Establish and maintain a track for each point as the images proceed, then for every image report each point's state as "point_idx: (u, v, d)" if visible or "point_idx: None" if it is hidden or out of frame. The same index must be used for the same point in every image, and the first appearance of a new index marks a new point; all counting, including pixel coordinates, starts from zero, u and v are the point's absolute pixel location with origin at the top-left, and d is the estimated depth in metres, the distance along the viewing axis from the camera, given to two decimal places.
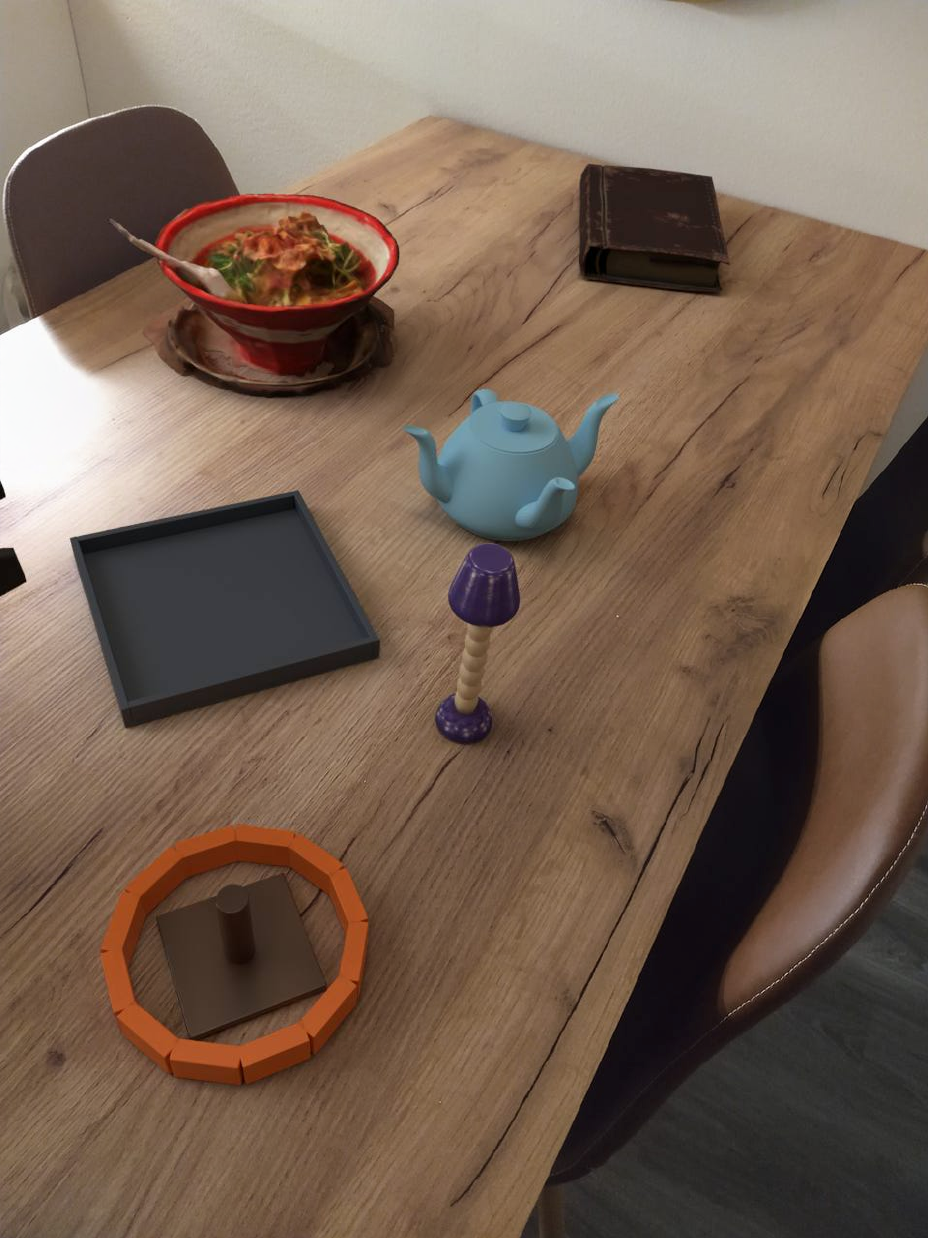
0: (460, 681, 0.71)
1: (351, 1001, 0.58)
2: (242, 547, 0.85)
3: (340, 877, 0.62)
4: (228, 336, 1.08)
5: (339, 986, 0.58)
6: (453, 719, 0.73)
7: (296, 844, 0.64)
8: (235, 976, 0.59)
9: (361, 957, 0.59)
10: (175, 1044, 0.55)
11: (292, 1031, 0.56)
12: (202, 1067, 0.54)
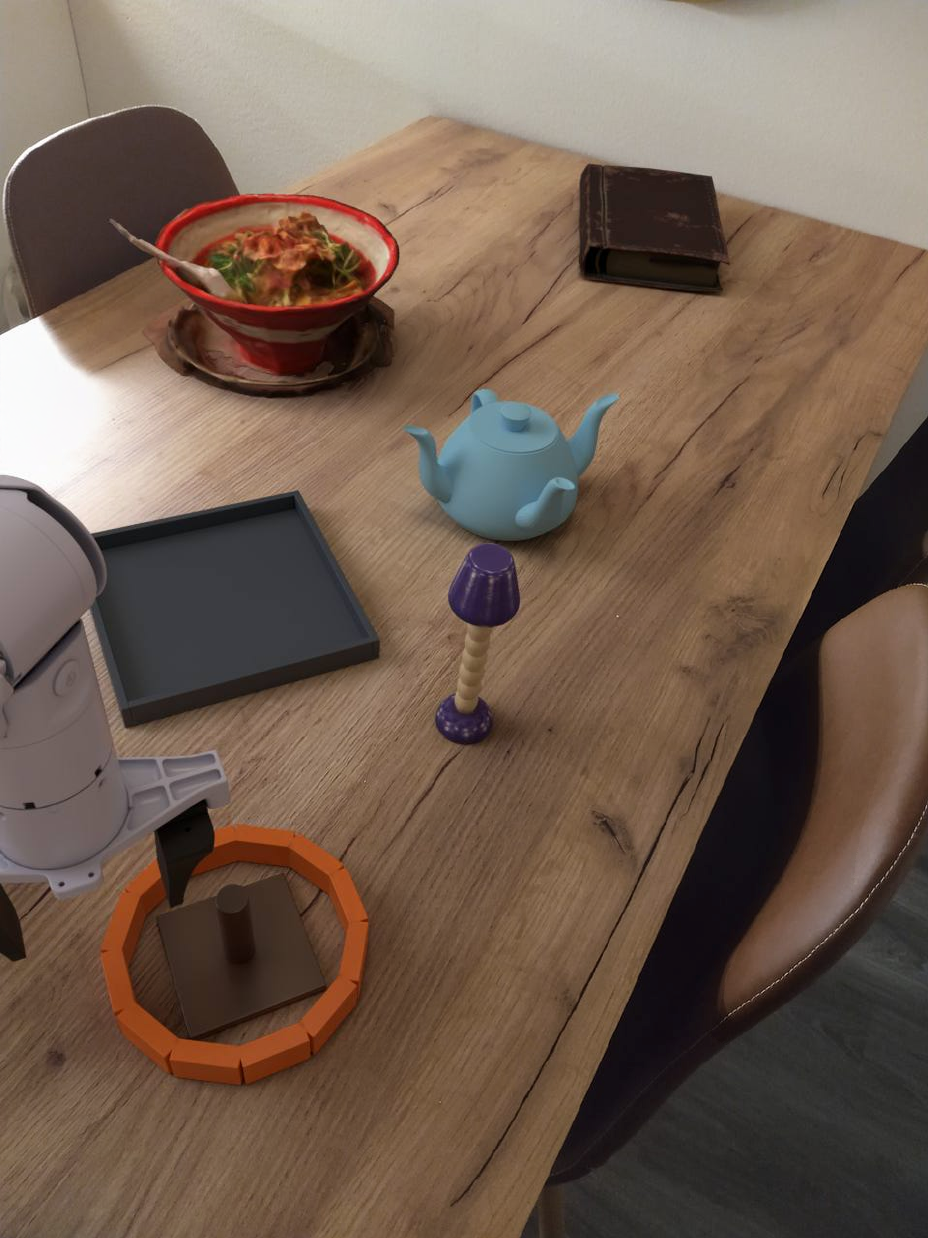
0: (460, 681, 0.71)
1: (351, 1001, 0.58)
2: (242, 547, 0.85)
3: (340, 877, 0.62)
4: (228, 336, 1.08)
5: (339, 986, 0.58)
6: (453, 719, 0.73)
7: (296, 844, 0.64)
8: (235, 976, 0.59)
9: (361, 957, 0.59)
10: (175, 1044, 0.55)
11: (292, 1031, 0.56)
12: (202, 1067, 0.54)
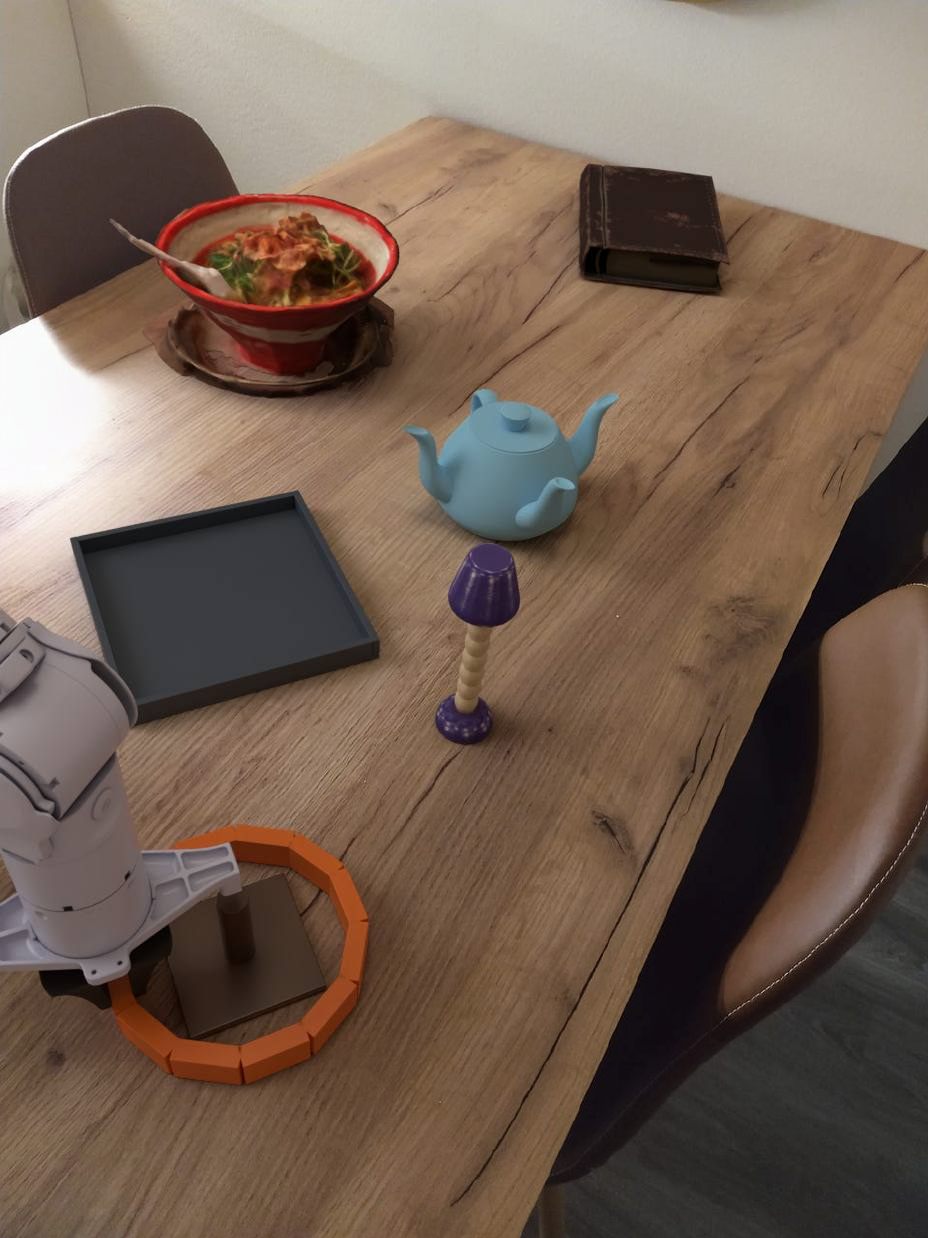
0: (460, 681, 0.71)
1: (351, 1001, 0.58)
2: (242, 547, 0.85)
3: (340, 877, 0.62)
4: (228, 336, 1.08)
5: (339, 986, 0.58)
6: (453, 719, 0.73)
7: (297, 844, 0.64)
8: (235, 976, 0.59)
9: (361, 957, 0.59)
10: (175, 1044, 0.55)
11: (292, 1031, 0.56)
12: (202, 1067, 0.54)
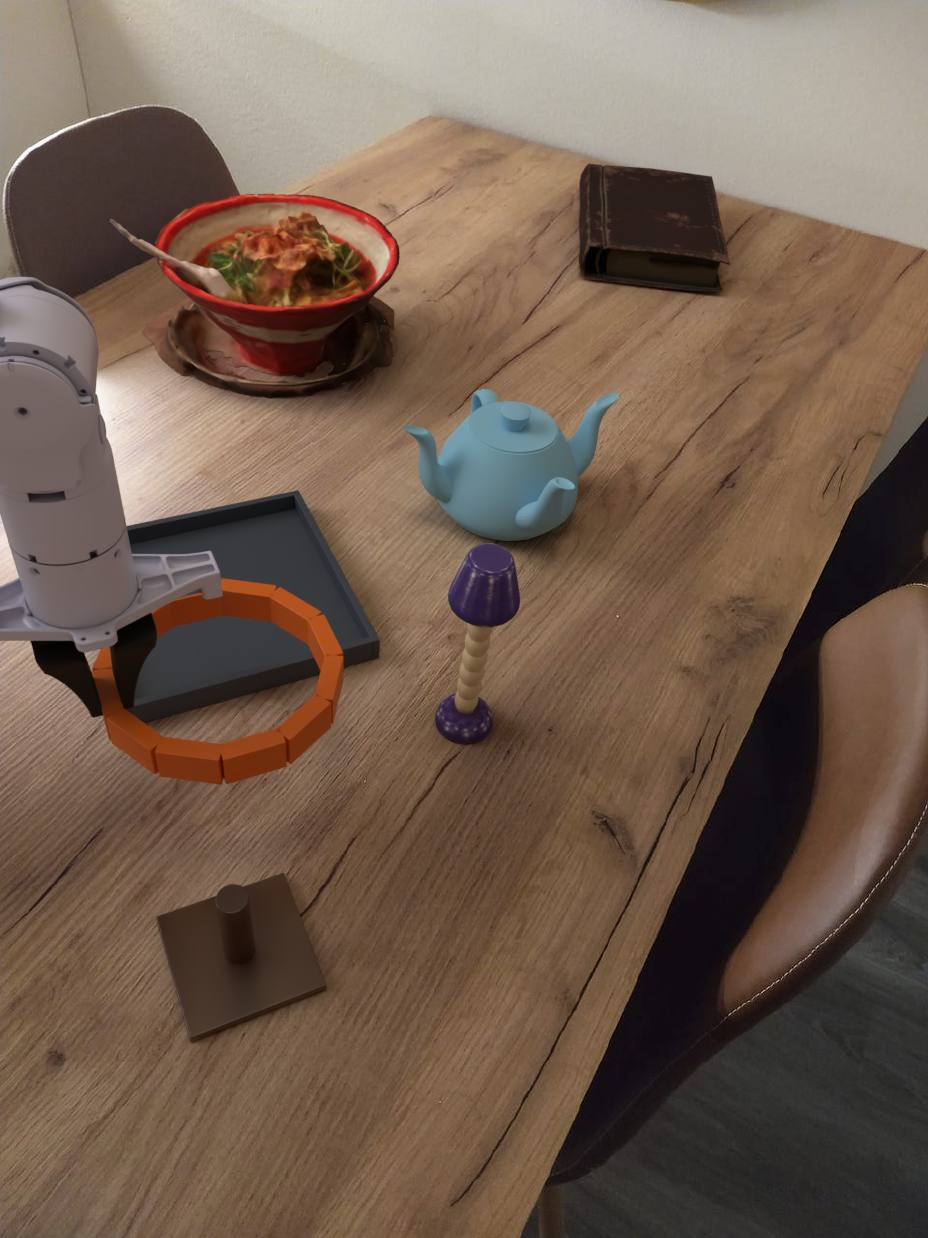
0: (460, 681, 0.71)
1: (326, 720, 0.62)
2: (242, 547, 0.85)
3: (318, 621, 0.67)
4: (228, 336, 1.08)
5: (314, 702, 0.62)
6: (453, 719, 0.73)
7: (277, 595, 0.68)
8: (235, 976, 0.59)
9: (335, 682, 0.63)
10: (160, 740, 0.59)
11: (269, 734, 0.60)
12: (185, 761, 0.58)
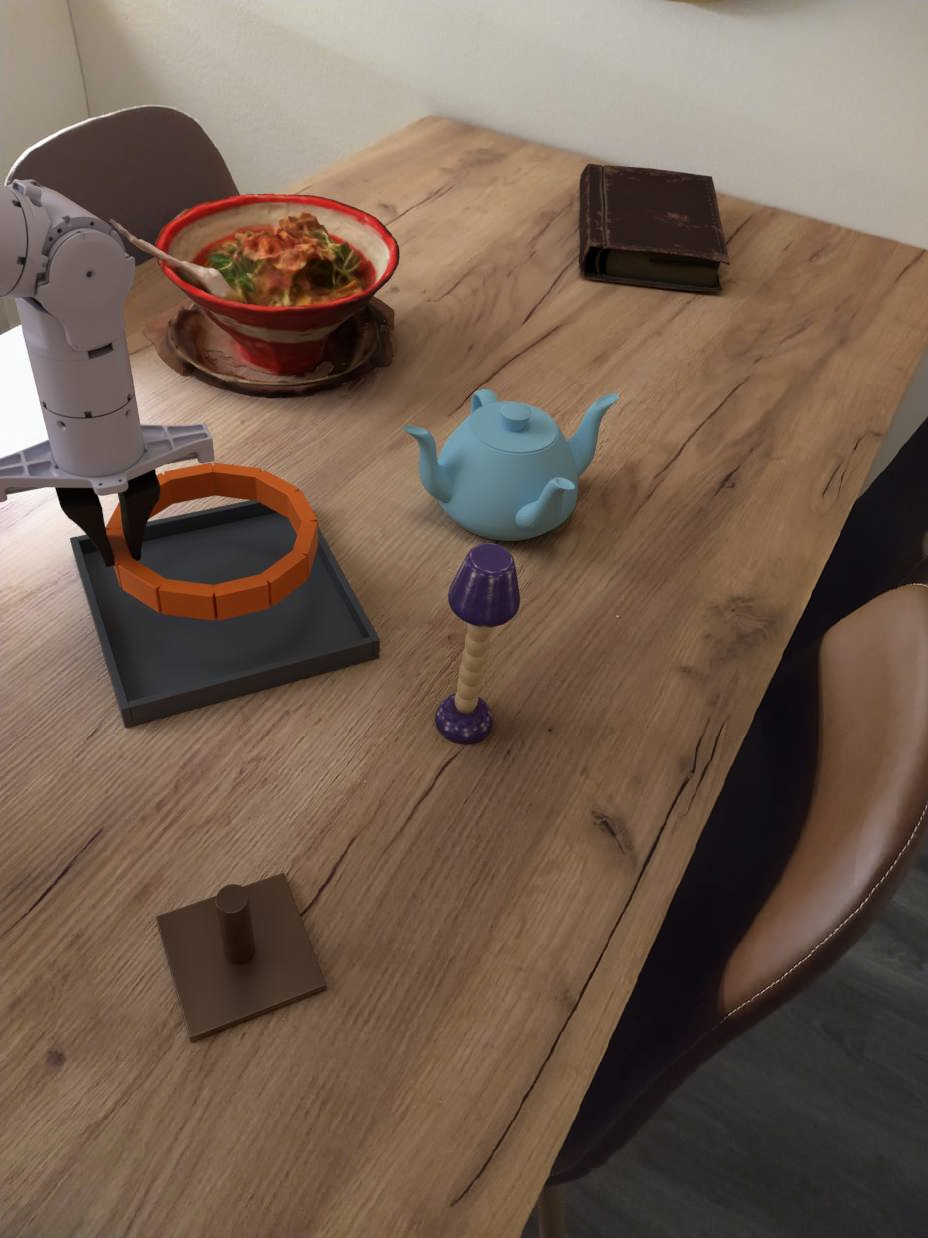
0: (460, 681, 0.71)
1: (302, 571, 0.74)
2: (242, 547, 0.85)
3: (296, 495, 0.78)
4: (228, 336, 1.08)
5: (292, 555, 0.73)
6: (453, 719, 0.73)
7: (262, 475, 0.80)
8: (235, 976, 0.59)
9: (310, 540, 0.75)
10: (163, 581, 0.70)
11: (254, 578, 0.71)
12: (184, 598, 0.70)
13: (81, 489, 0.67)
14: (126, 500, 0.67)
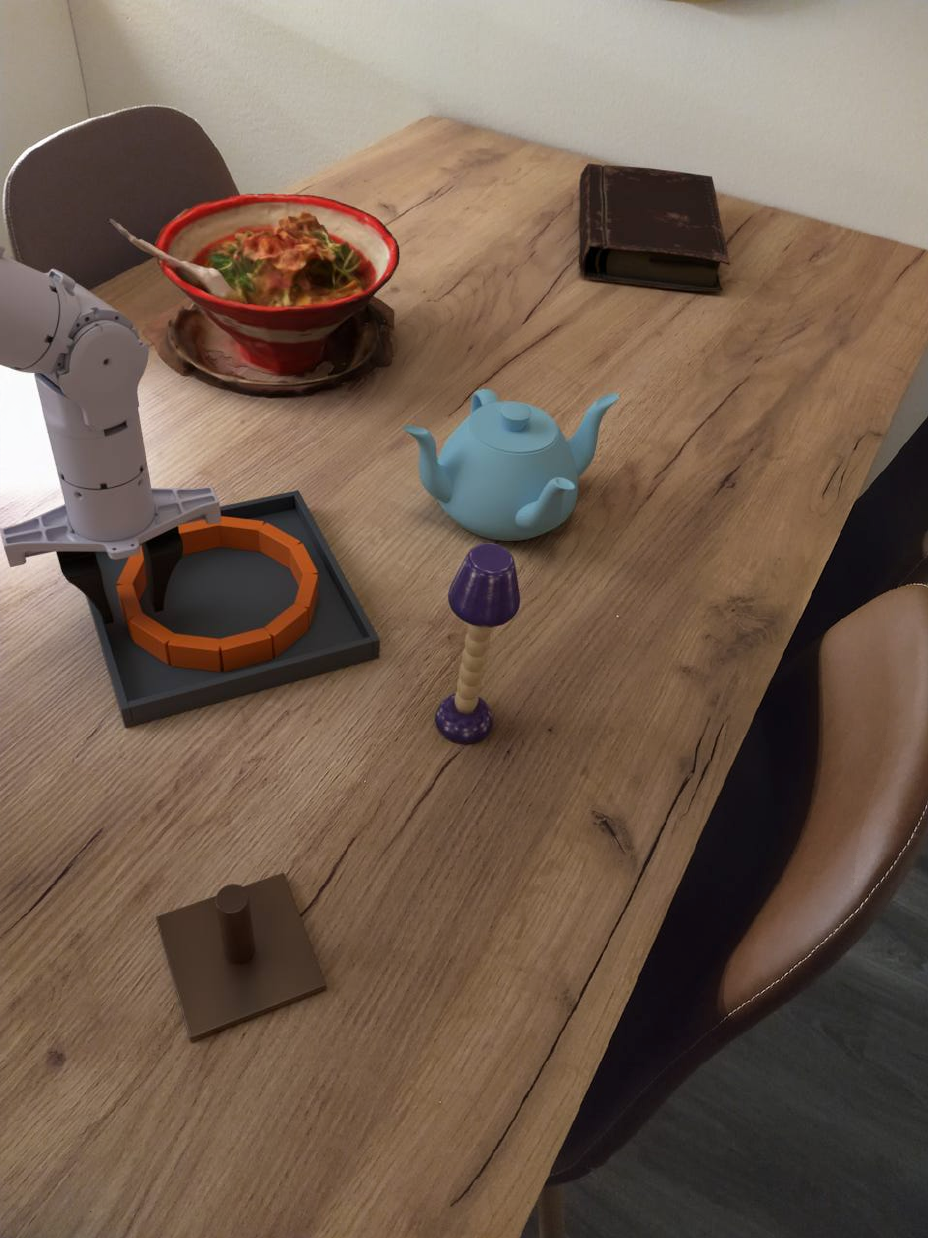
0: (460, 681, 0.71)
1: (303, 623, 0.78)
2: None
3: (297, 548, 0.82)
4: (228, 336, 1.08)
5: (294, 609, 0.77)
6: (453, 719, 0.73)
7: (265, 528, 0.84)
8: (235, 976, 0.59)
9: (311, 593, 0.79)
10: (172, 636, 0.74)
11: (258, 632, 0.75)
12: (192, 651, 0.74)
13: (81, 554, 0.71)
14: (152, 558, 0.71)
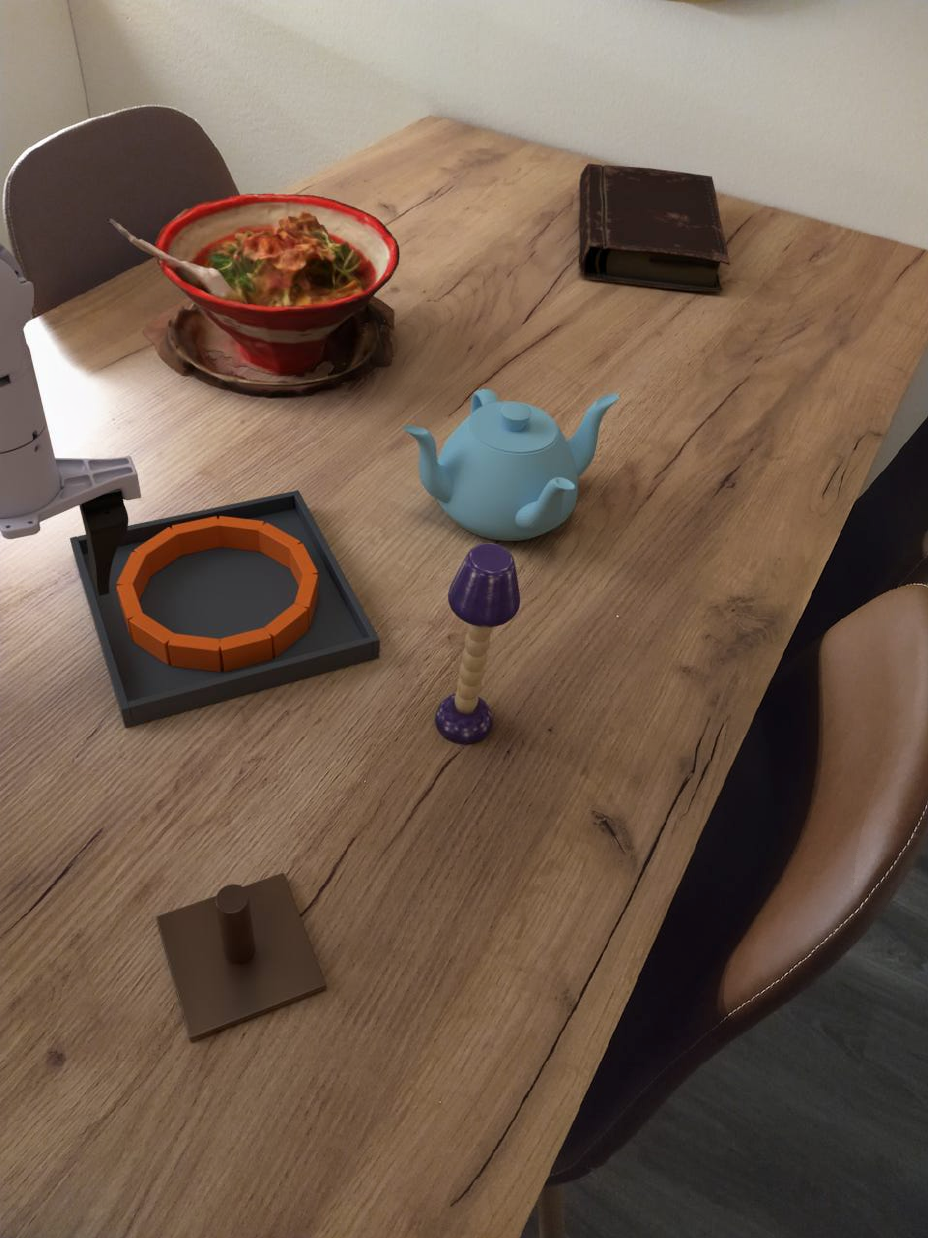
0: (460, 681, 0.71)
1: (303, 623, 0.78)
2: None
3: (297, 548, 0.82)
4: (228, 336, 1.08)
5: (294, 609, 0.77)
6: (453, 719, 0.73)
7: (265, 528, 0.84)
8: (235, 976, 0.59)
9: (311, 593, 0.79)
10: (172, 636, 0.74)
11: (258, 632, 0.75)
12: (192, 651, 0.74)
13: None
14: (91, 532, 0.62)
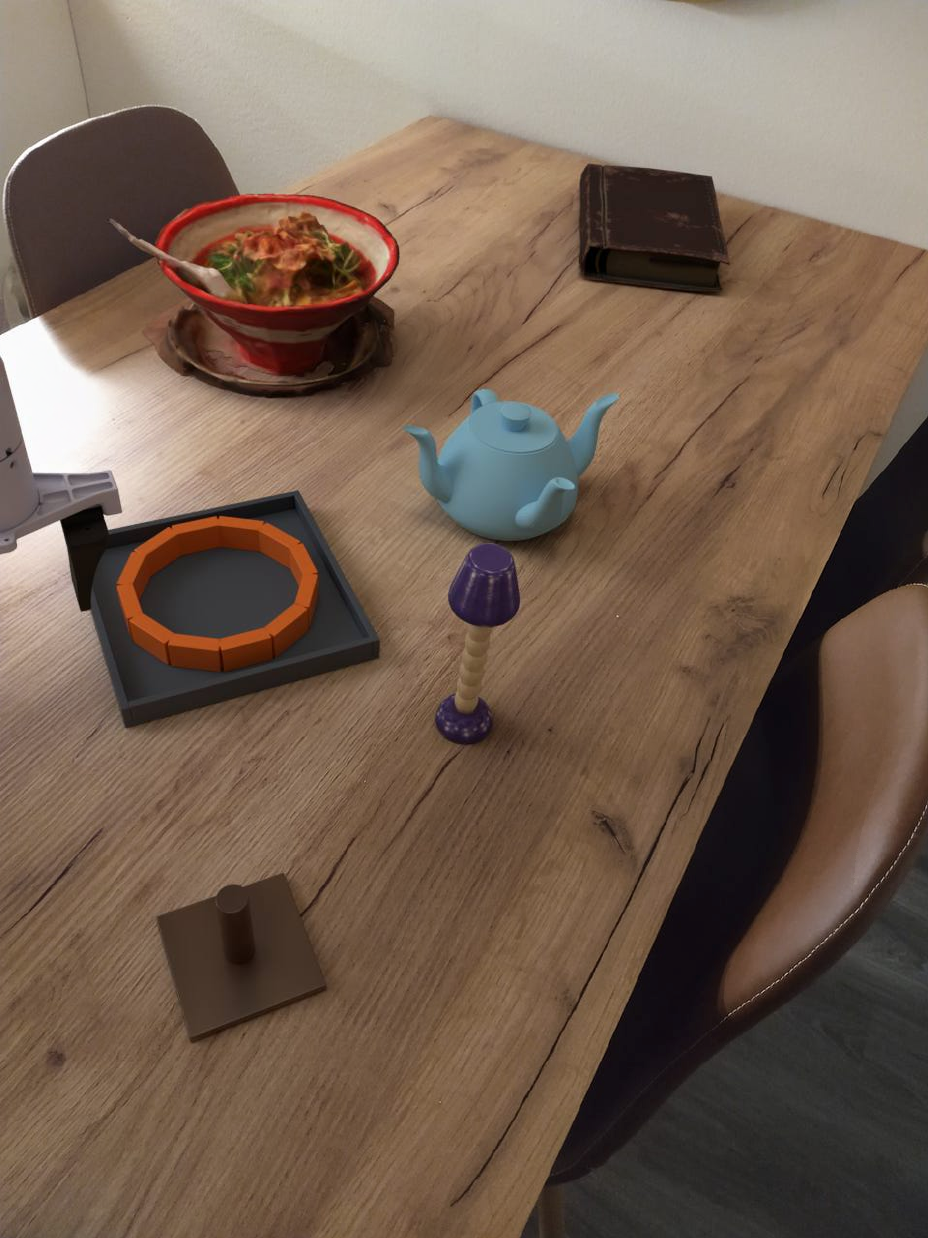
0: (460, 681, 0.71)
1: (303, 623, 0.78)
2: None
3: (297, 548, 0.82)
4: (228, 336, 1.08)
5: (294, 609, 0.77)
6: (453, 719, 0.73)
7: (265, 528, 0.84)
8: (235, 976, 0.59)
9: (311, 593, 0.79)
10: (172, 636, 0.74)
11: (258, 632, 0.75)
12: (192, 651, 0.74)
13: None
14: (70, 548, 0.61)
